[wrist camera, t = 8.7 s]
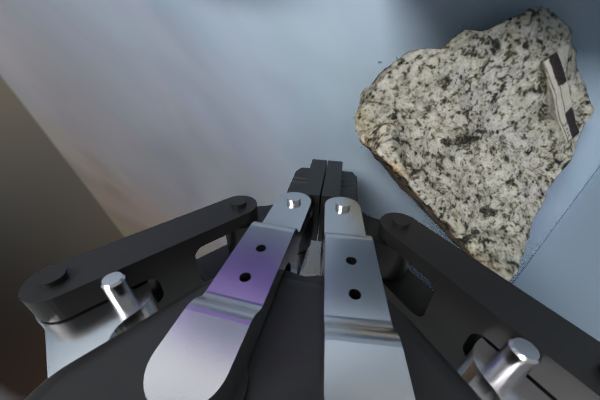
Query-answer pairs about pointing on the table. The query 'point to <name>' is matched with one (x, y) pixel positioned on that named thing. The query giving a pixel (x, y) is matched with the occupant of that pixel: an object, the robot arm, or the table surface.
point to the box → (570, 264)
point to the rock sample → (480, 130)
